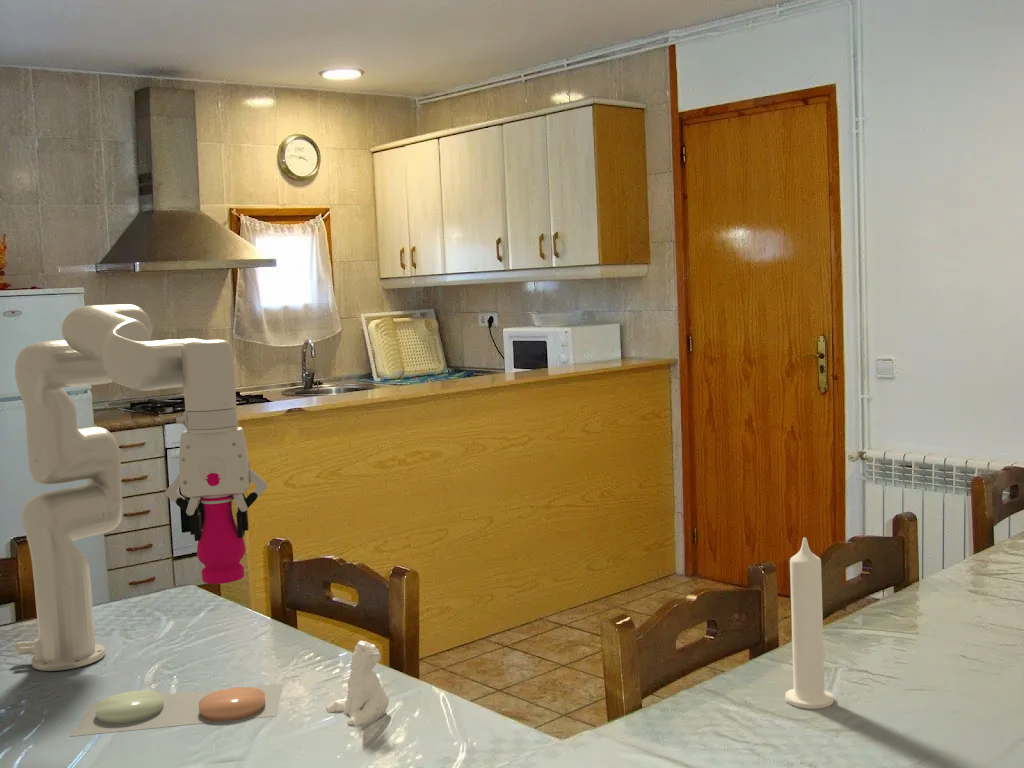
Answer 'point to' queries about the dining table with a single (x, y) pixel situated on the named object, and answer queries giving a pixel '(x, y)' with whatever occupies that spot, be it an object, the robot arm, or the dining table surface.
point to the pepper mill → (220, 540)
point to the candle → (807, 632)
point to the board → (174, 713)
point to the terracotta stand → (231, 703)
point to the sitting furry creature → (363, 688)
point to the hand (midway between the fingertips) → (220, 536)
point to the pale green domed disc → (129, 707)
